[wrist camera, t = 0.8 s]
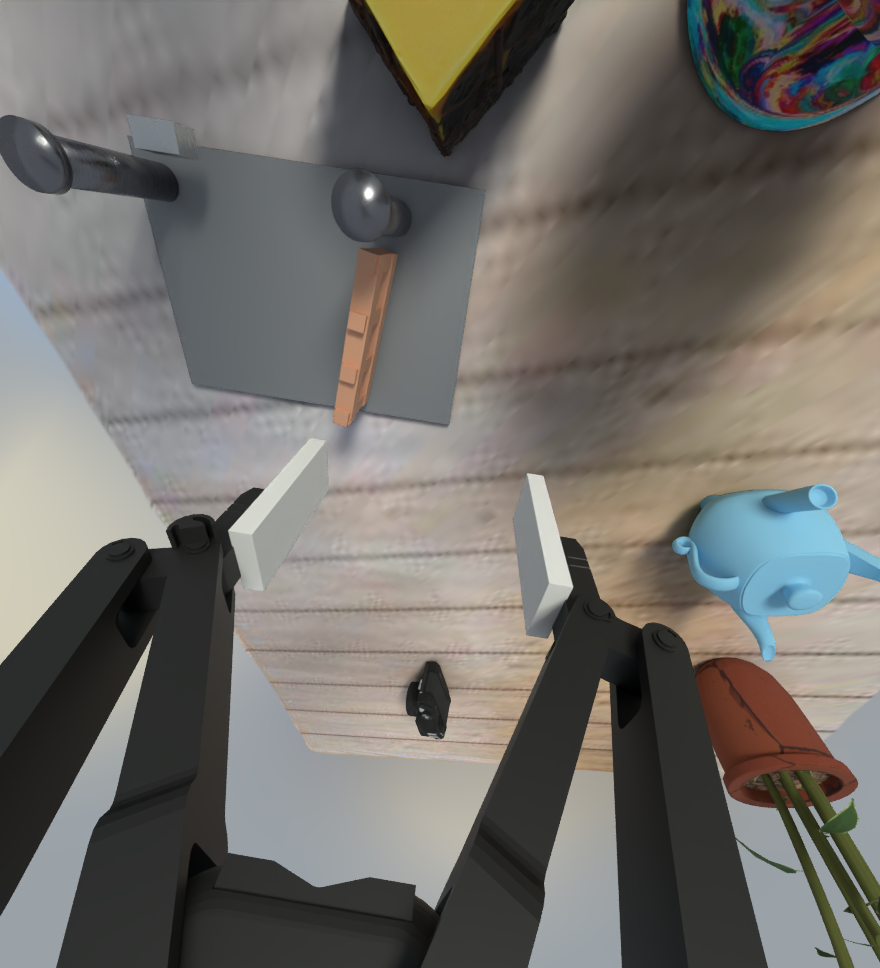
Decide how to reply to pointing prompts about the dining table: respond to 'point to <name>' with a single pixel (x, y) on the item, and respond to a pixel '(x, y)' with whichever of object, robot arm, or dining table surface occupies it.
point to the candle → (457, 53)
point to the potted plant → (788, 782)
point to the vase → (786, 58)
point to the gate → (364, 330)
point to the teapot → (772, 554)
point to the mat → (310, 281)
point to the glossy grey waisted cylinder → (367, 207)
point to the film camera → (429, 702)
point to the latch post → (96, 159)
